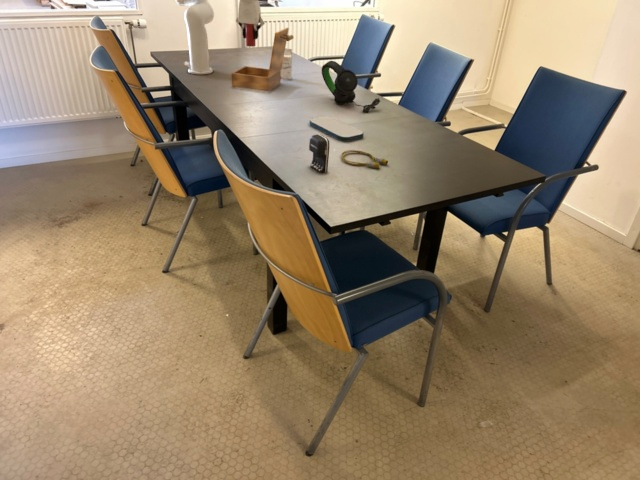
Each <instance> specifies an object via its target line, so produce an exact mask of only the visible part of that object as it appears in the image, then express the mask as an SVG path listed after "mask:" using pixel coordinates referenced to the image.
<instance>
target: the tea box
mask: <svg viewBox="0 0 640 480" xmlns="http://www.w3.org/2000/svg"><path fill="white" fill-rule="evenodd" d="M268 74H269V68H263V67H255V66H248V65H244V66H243V67H241V68H239V69H236V70H234V71H233V72H231V74H230V75H231V78H230V79H231V87H234V88H242V89H248V90H254V91H255V90H256V91H262V92H263V91H264V92H271V90H274V89H275V88H276V87H278V86H279V85H280V84H281V81H282V80H281V79H282V78H281V71H279V72H277V73H276V74H274V75H273V76H271V77H268Z"/></svg>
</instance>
